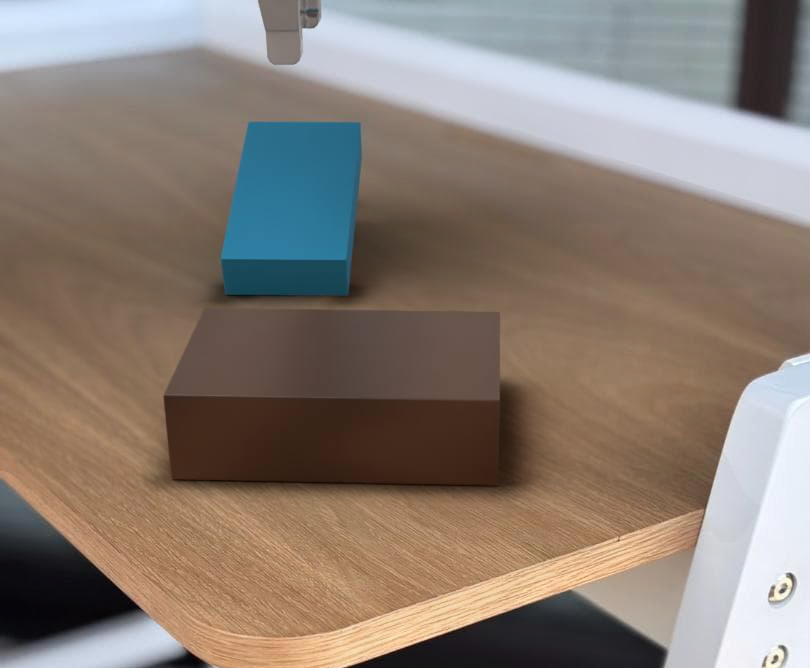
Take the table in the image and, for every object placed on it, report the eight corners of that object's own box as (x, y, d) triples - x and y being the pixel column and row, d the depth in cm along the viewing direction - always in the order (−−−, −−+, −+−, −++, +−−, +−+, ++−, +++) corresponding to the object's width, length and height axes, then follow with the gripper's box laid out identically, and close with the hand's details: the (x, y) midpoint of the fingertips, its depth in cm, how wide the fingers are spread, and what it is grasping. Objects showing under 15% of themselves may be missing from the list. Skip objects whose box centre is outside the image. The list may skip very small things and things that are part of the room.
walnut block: (170, 479, 64) (162, 394, 62) (210, 384, 73) (204, 307, 71) (497, 486, 64) (499, 400, 62) (497, 389, 72) (500, 311, 70)
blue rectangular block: (351, 360, 87) (367, 187, 99) (346, 260, 82) (363, 91, 94) (233, 359, 87) (264, 187, 99) (220, 259, 82) (254, 91, 94)
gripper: (250, -239, 87) (266, 8, 94) (187, -217, 70) (211, 85, 77) (358, -241, 87) (365, 7, 94) (322, -219, 69) (334, 85, 76)
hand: (296, 43), depth 85 cm, fingers open, 8 cm apart
